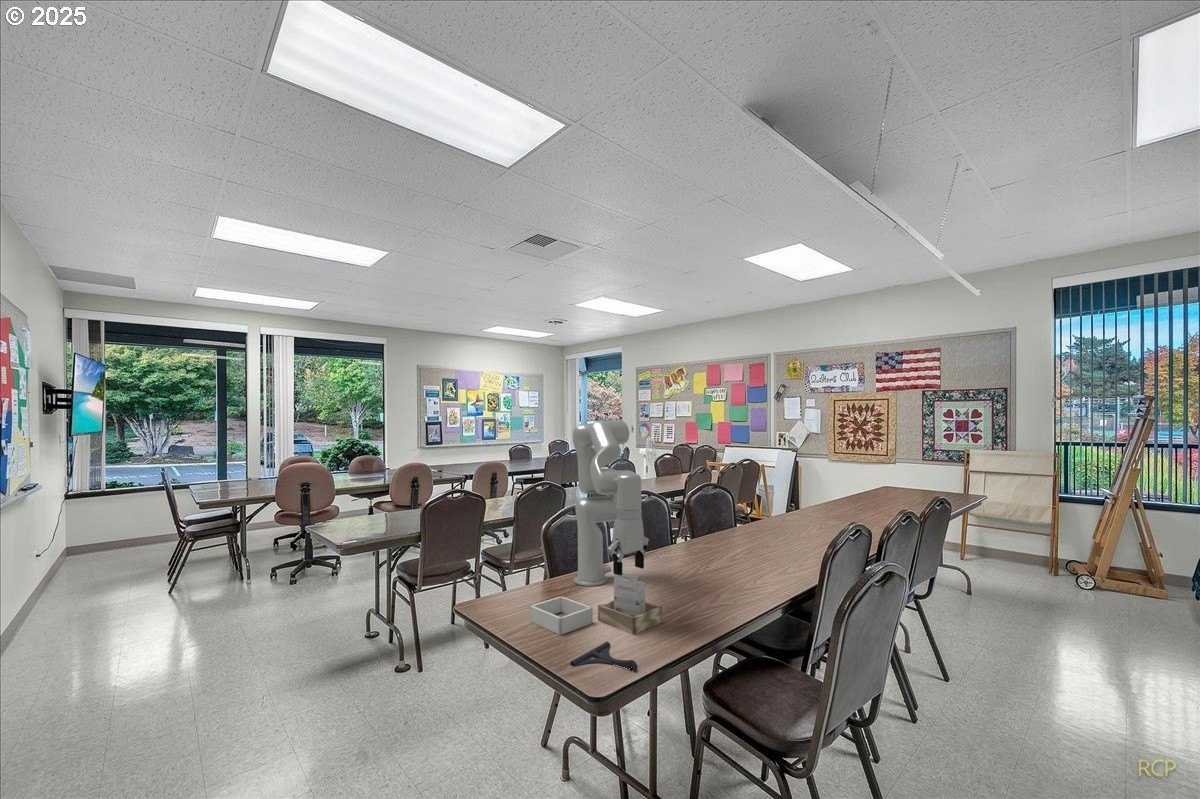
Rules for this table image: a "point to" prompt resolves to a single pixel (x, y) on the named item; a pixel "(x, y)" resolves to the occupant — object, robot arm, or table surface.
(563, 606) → the frame
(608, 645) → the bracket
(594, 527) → the robot arm
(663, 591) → the table surface
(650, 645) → the table surface
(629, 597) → the ink box
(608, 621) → the frame
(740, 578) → the table surface
